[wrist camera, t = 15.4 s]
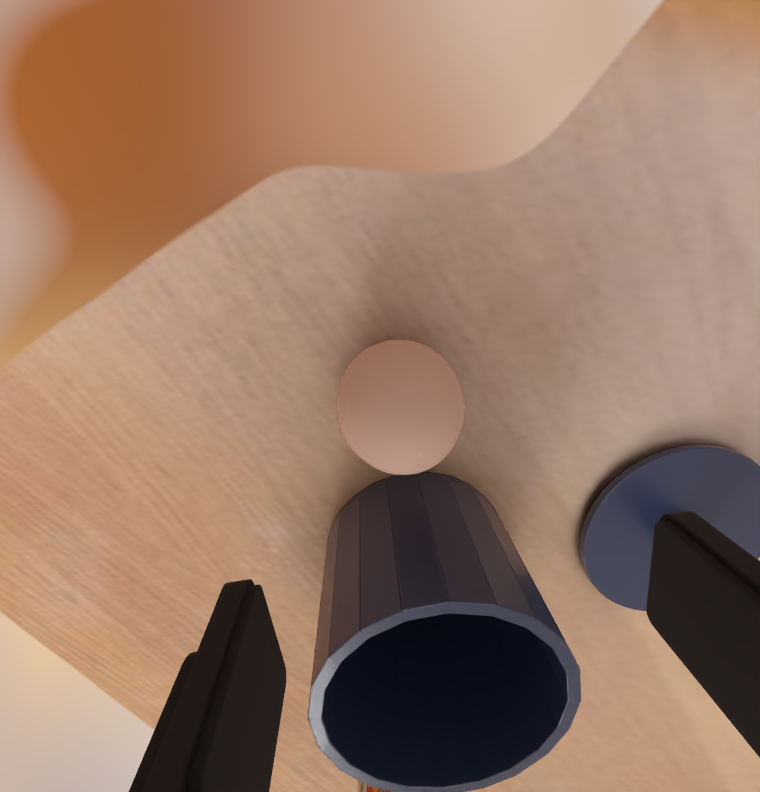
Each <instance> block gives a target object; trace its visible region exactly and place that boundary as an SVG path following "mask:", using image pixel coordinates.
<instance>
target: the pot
mask: <svg viewBox="0 0 760 792" xmlns="http://www.w3.org/2000/svg"><path fill="white" fill-rule="evenodd" d="M580 702H581V683H580V669H579V666H578V664H577V662H576V660H575V658H574V656H573V654H572V653H571V651H570V649H569V647H568V645H567V643H566V641H565V639H564V638H563V636H562V634H561V632H560V630H559V628H558V626H557V624H556V623H555V621H554V619H553V617H552V615H551V613H550V611H549V609H548V608H547V606H546V604H545V602H544V600H543V598H542V596H541V595H540V593H539V591H538V589H537V587H536V585H535V583H534V581H533V580H532V578H531V576H530V574H529V572H528V570H527V568H526V567H525V565H524V563H523V561H522V559H521V557H520V555H519V553H518V552H517V550H516V548H515V546H514V544H513V542H512V540H511V538H510V537H509V535H508V533H507V531H506V529H505V527H504V525H503V524H502V522H501V520H500V518H499V516H498V514H497V512H496V510H495V509H494V507H493V506H492V504H491V503H490V502H489V501H488V500H487V499H486V498H485V496H483V495H482V494H481V493H480V492H479V491H478V490H476V489H475V488H473V487H472V486H470V485H469V484H467V483H465V482H463V481H460V480H458V479H456V478H453V477H449V476H446V475H442V474H436V473H425V472H421V473H417V474H410V475H395V476H392V477H389V478H385V479H383V480H380V481H378V482H376V483H373V484H372V485H370V486H368V487H367V488H365V489H363V490H362V491H360V492H359V493H358V494H356V495H355V496H354V497H353V498H352V499H351V500H350V501H349V502H348V503H347V504H346V505H345V506H344V507H343V509H342V510H341V511H340V512H339V514H338V516H337V517H336V519H335V521H334V523H333V525H332V528H331V530H330V533H329V536H328V541H327V550H326V559H325V567H324V576H323V585H322V593H321V602H320V611H319V620H318V628H317V637H316V646H315V655H314V663H313V672H312V681H311V690H310V699H309V709H308V720H309V723H310V726H311V728H312V731H313V734H314V737H315V739H316V742H317V745H318V746H319V748H320V750H321V751H322V752H323V753H324V754H325V755H326V756H327V757H328V758H329V759H330V760H331V761H332V762H333V763H334V764H335V766H336V767H337V768H338V769H340V770H341V771H342V772H344V773H346V774H348V775H350V776H352V777H353V778H355V779H357V780H359V781H361V782H363V783H365V784H366V785H368V786H371V787H375V788H379V789H383V790H387V791H392V792H466V791H471V790H477V789H481V788H482V789H483V788H485V787H488V786H490V785H493V784H496V783H498V782H501V781H503V780H506V779H508V778H511V777H513V776H516V775H517V774H519V773H520V772H522V771H523V770H525V769H526V768H528V767H529V766H531V765H532V764H534V763H535V762H537V761H538V760H540V759H541V758H543V757H544V756H546V754H548V753H549V752H550V751H551V750H552V749H553V747H554V746H555V745H556V744H557V743H558V742H559V740H560V739H561V738H562V737H563V736H564V735H565V734H566V732H567V731H568V730H569V728H570V727H571V724H572V722H573V719H574V717H575V714H576V712H577V709H578V707H579V704H580Z"/></svg>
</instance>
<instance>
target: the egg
mask: <svg viewBox="0 0 760 792" xmlns="http://www.w3.org/2000/svg"><path fill="white" fill-rule="evenodd" d="M337 417H338V420H339V424H340V428H341V430H342V433H343V435H344V437H345V440H346V442H347V443H348V444H349V446H350V447H351V448H352V450H353V451H354V452H355V453H356V454H357V455H358V456H359V457H360V458H362V459H363V460H364V461H365V462H367V463H368V464H369V465H371V466H373V467H374V468H376V469H378V470H380V471H383V472H386V473H390V474H396V475H410V474H417V473H421V472H423V471H426V470H428V469H430V468H432V467H433V466H435V465H437V464H438V463H440V462H441V461H442V460H443V459H444V458H445V457H446V456H447V455H448V454H449V453H450V452H451V450H452V448H453V447H454V445H455V443H456V442H457V440H458V437H459V435H460V432H461V430H462V427H463V423H464V417H465V402H464V397H463V393H462V389H461V385H460V382H459V380H458V378H457V376H456V374H455V372H454V371H453V369H452V368H451V366H450V365H449V364H448V363H447V362H446V360H445V359H444V358H443V357H442V356H441V355H439V354H438V353H437V352H435V351H434V350H432V349H431V348H429V347H428V346H426V345H423V344H421V343H418V342H415V341H410V340H404V339H401V340H387V341H384V342H381V343H378V344H375V345H372V346H370V347H369V348H367V349H366V350H364V351H363V352H361V353H360V354H359V355H358V356H357V357H356V358H354V359H353V361H352V362H351V364H350V365H349V366H348V368H347V369H346V371H345V372H344V375H343V377H342V379H341V382H340V384H339V390H338V395H337Z"/></svg>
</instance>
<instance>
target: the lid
mask: <svg viewBox="0 0 760 792" xmlns="http://www.w3.org/2000/svg"><path fill="white" fill-rule="evenodd" d="M683 511H692V512H694V513H696V514H697V515H699V516H700V517H701V518H703V519H704V520H705V521H707V522H708V523H709V524H711V525H712V526H713V527H715V528H716V529H717V530H719V531H720V532H721V533H723V534H724V535H725V536H727V537H728V538H729V539H731V540H732V541H733V542H735V543H736V544H737V545H739V546H740V547H741V548H743V549H744V550H745V551H747V552H748V553H749V554H751V555H752V556H753V557H755V558H756V559H758V558H759V557H760V466H759V465H758V464H756V463H755V462H754V461H753V460H751V459H749V458H748V457H746V456H744V455H742V454H740V453H738V452H736V451H733V450H731V449H728V448H725V447H720V446H715V445H701V444H699V445H686V446H680V447H674V448H671V449H667V450H664V451H660V452H658V453H656V454H653V455H651V456H648V457H646V458H644V459H642V460H641V461H639V462H637V463H635V464H633V465H632V466H631V467H629V468H628V469H626V470H625V471H623V472H622V473H621V474H620V475H618V476H617V477H616V478H615V479H614V480H612V481H611V482H610V484H609V485H608V486H607V487H606V488H605V489H604V490H603V491H602V492H601V494H600V495H599V496H598V497H597V499H596V500H595V502H594V503H593V505H592V507H591V508H590V510H589V512H588V514H587V516H586V519H585V521H584V524H583V528H582V531H581V537H580V556H581V562H582V565H583V568H584V570H585V572H586V574H587V576H588V578H589V579H590V581H591V582H592V584H593V585H594V586H595V587H596V588H597V590H598V591H599V592H600V593H602V594H603V595H604V596H605V597H606V598H608V599H610V600H611V601H613V602H615V603H617V604H619V605H622V606H624V607H627V608H631V609H635V610H642V611H646V606H647V596H648V587H649V577H650V567H651V557H652V548H653V538H654V528H655V524H656V523H657V522H660V518H661V517H662V516H663V515H665V514H671V513H677V512H683Z"/></svg>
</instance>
